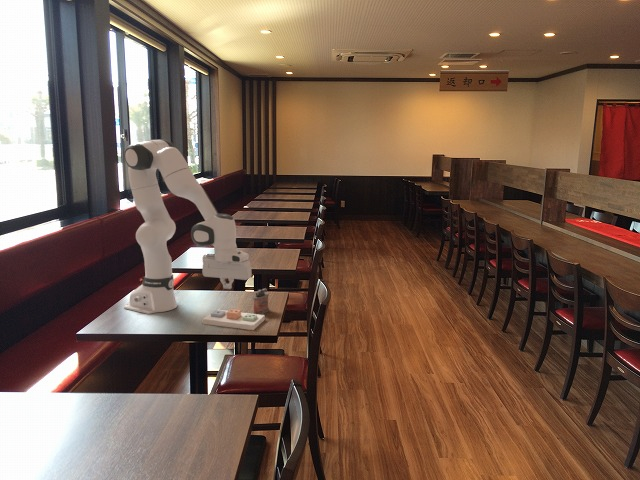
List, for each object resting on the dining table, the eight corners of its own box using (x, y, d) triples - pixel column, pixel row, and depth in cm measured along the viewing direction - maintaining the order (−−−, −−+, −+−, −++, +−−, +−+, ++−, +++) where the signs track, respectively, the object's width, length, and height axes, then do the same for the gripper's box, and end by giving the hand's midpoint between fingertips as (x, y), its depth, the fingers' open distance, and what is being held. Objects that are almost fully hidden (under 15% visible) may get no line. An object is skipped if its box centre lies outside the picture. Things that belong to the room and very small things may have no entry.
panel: (202, 323, 204) (202, 318, 204) (216, 313, 216) (216, 309, 215) (253, 330, 198) (253, 325, 198) (264, 319, 210) (264, 315, 209)
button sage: (242, 324, 204) (242, 317, 203) (247, 320, 208) (247, 313, 207) (252, 325, 202) (252, 318, 202) (257, 322, 207) (257, 314, 206)
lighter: (257, 315, 214) (257, 292, 212) (251, 313, 216) (251, 291, 214) (270, 310, 221) (270, 288, 219) (264, 308, 223) (264, 286, 221)
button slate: (211, 320, 207) (210, 313, 207) (216, 316, 212) (215, 309, 211) (220, 321, 206) (220, 314, 206) (225, 318, 210) (225, 311, 210)
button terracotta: (226, 319, 205) (226, 312, 205) (231, 315, 209) (231, 308, 209) (236, 320, 204) (236, 313, 203) (241, 317, 208) (241, 309, 208)
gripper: (198, 255, 202) (200, 288, 204) (245, 258, 196) (247, 292, 199) (206, 251, 208) (208, 284, 210) (252, 254, 202) (253, 288, 204)
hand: (227, 288), depth 204 cm, fingers closed
